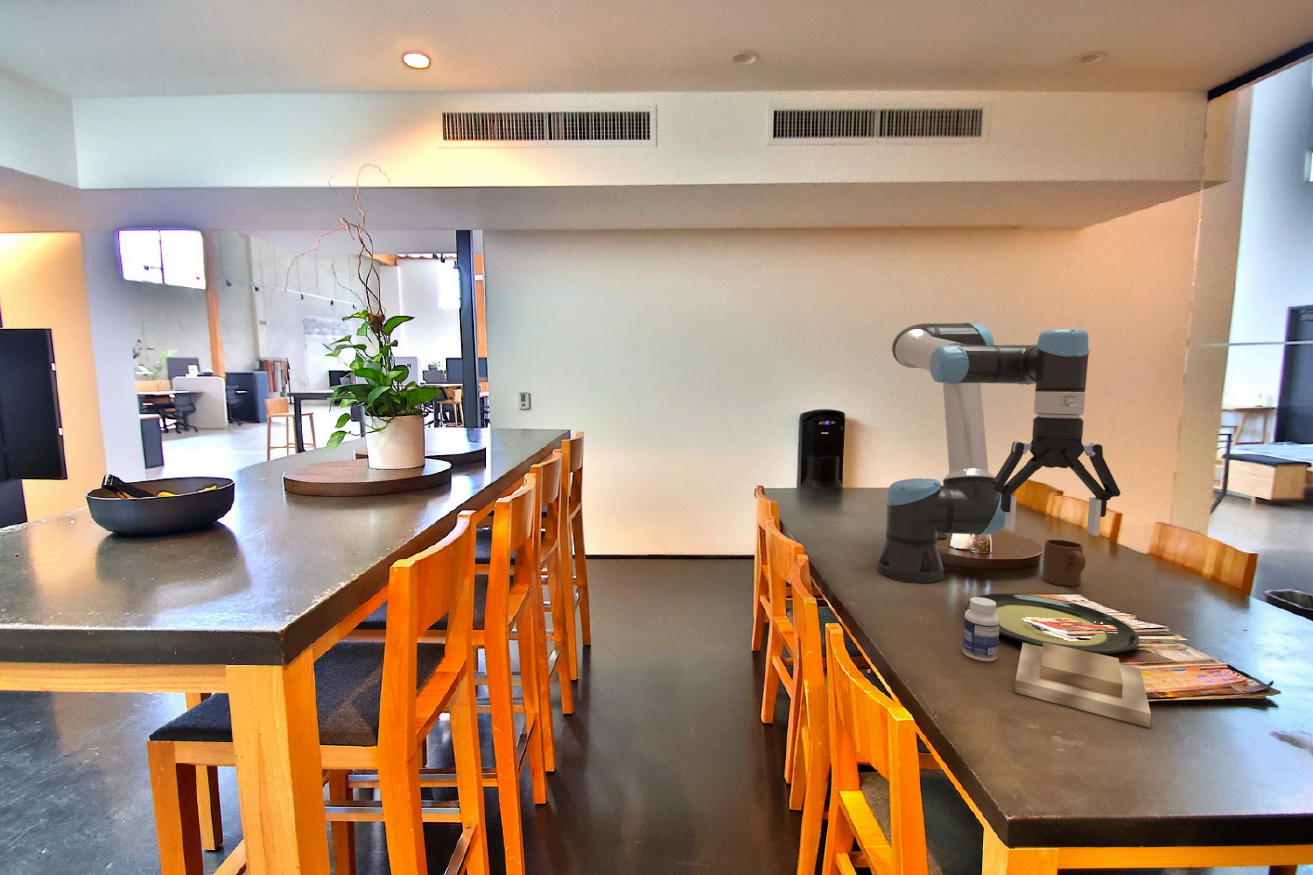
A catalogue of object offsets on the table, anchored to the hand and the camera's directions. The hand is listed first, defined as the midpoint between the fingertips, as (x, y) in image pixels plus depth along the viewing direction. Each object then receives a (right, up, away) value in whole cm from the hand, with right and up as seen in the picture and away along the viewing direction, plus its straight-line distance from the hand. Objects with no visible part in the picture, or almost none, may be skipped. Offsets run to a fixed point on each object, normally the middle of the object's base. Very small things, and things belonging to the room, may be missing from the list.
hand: (1050, 532), depth 109 cm
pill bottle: (-16, -21, -5) cm, 27 cm away
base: (-6, -22, -16) cm, 28 cm away
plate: (+3, -20, +6) cm, 21 cm away
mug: (+24, -18, +31) cm, 43 cm away
